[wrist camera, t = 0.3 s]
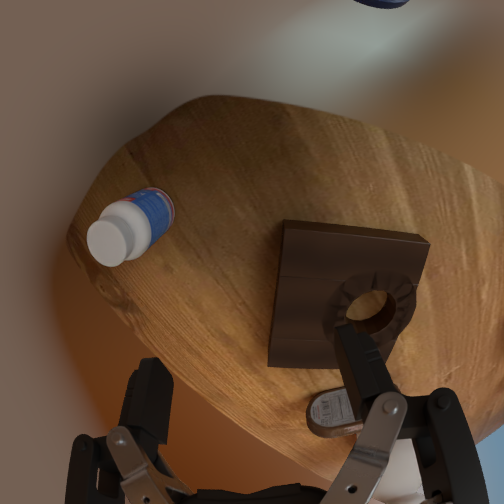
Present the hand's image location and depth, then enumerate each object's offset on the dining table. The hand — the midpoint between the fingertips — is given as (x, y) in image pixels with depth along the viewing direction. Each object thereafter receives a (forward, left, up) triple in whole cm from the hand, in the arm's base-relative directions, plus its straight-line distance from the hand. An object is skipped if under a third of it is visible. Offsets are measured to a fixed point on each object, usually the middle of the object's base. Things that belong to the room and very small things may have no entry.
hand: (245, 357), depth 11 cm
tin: (+25, +16, -19) cm, 35 cm away
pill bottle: (-1, -12, -19) cm, 22 cm away
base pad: (+8, +10, -18) cm, 22 cm away
